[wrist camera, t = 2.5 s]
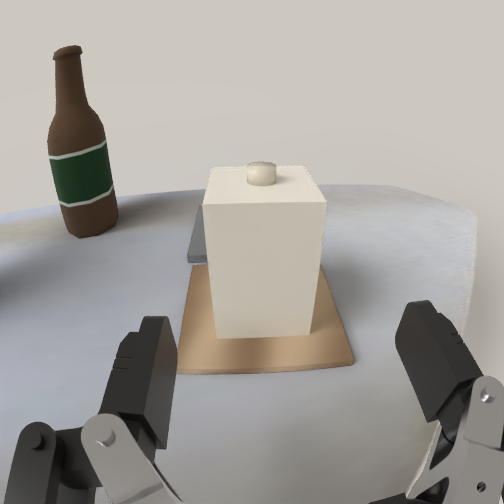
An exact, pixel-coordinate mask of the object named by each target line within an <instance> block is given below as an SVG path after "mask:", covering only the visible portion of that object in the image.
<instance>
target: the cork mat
mask: <svg viewBox="0 0 504 504" xmlns="http://www.w3.org/2000/svg"><path fill="white" fill-rule="evenodd" d="M177 354H178V364H177V371H176V373H177V374H247V373H270V372H287V371H300V370H312V369H322V368H332V367H340V366H349V365H352V364H353V361H354V358H353V355H352V352H351V349H350V346H349V343H348V340H347V337H346V334H345V331H344V328H343V325H342V323H341V320H340V317H339V314H338V311H337V308H336V305H335V303H334V300H333V297H332V294H331V292H330V289H329V286H328V283H327V281H326V278H325V275H324V273H323V270H322V267H321V265H320V268H319V275H318V282H317V289H316V296H315V302H314V309H313V315H312V321H311V327H310V333H309V335H299V336H283V337H263V338H233V339H217V337H216V329H215V321H214V313H213V305H212V296H211V288H210V279H209V270H208V265H193V267H192V272H191V277H190V282H189V288H188V293H187V299H186V304H185V310H184V316H183V321H182V327H181V333H180V339H179V345H178V352H177Z"/></svg>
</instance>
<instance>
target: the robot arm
mask: <svg viewBox="0 0 504 504" xmlns="http://www.w3.org/2000/svg"><path fill="white" fill-rule="evenodd" d="M395 344H396V349H397V351H398V353H399V356H400V358H401V360H402V362H403V365H404V367H405V369H406V371H407V374H408V376H409V378H410V381H411V383H412V386H413V388H414V390H415V393H416V395H417V398H418V400H419V403H420V405H421V408H422V410H423V413H424V415H425V418H426V420H427V423H428V422H431V421H435V420H438V419H439V421H440V425H439V427H438V429H437V432H436V435H435V438H434V441H433V444H432V447H431V451H430V453H429V456H428V459H427V462H426V465H425V467H424V470H423V472H422V474H421V476H420V477H419V479H418V480H417V481H416V483H415V484H414V486H413V487H412V489H411V491H410V493H409V495H408V497H407V498H406V495H405V493H402V494H399V495H396V496H392V497H389V498H385V499H382V500H378V501H374V502H371V503H369V504H499V499H500V496H501V495H502V499H503V503H504V387H503V385H502V384H501V383H500V382H499V381H498V380H497V379H495V378H493V377H491V376H484V375H483V374H482V372H481V370H480V369H479V367H478V365H477V363H476V361H475V360H474V358H473V356H472V355H471V353H470V351H469V350H468V348H467V346H466V345H465V343H463V340H462V338H461V336H460V335H458V332H457V330H456V328H455V327H454V325H453V324H452V322H451V321H450V320H449V319H447V318H446V317H445V316H444V315H443V314H441V313H438V312H437V311H436V309H435V308H434V306H433V305H432V303H431V302H430V301H428V300H425V301H417V302H409V303H408V304H407V305H406V308H405V310H404V313H403V316H402V319H401V321H400V324H399V327H398V329H397V332H396V336H395ZM177 364H178V354H177V347H176V343H175V340H174V336H173V333H172V329H171V325H170V322H169V319H168V317H167V316H145V317H144V318H143V320H142V323H141V326H140V330H139V332H129V333H128V335H127V336H126V337H125V338H124V339H123V341H122V342H121V343H120V345H119V348H118V351H117V354H116V359H115V361H114V364H113V367H112V368H113V370H111V373H110V377H109V380H108V383H107V387H106V390H105V394H104V397H103V401H102V404H101V408H100V410H99V412H98V414H97V415H96V416H94V417H92V418H90V419H89V420H88V421H87V422H86V423H85V425H84V426H83V427H80V428H74V429H66V430H58V431H54V430H53V429H52V428H51V427H50V426H49V425H47V424H45V423H43V422H33V423H31V424H29V425H27V426H26V427H25V428H24V429H23V430H22V431H21V433H20V435H19V438H18V442H17V446H16V450H15V453H14V457H13V462H12V466H11V470H10V475H9V479H8V484H7V489H6V495H5V500H4V504H94V502H95V492H96V487H104V489H105V491H106V493H107V495H108V496H109V498H110V500H111V502H112V504H185V502H184V501H183V500H182V499H181V497H180V496H179V495H178V493H177V492H176V491H175V489H174V488H173V487H172V485H171V484H170V483H169V481H168V480H167V479H166V477H165V476H164V474H163V473H162V471H161V470H160V469H159V467H158V466H157V464H156V463H155V461H154V459H155V451H156V449H165V450H166V447H167V438H168V430H169V422H170V414H171V406H172V399H173V392H174V385H175V378H176V371H177Z"/></svg>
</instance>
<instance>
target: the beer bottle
mask: <svg viewBox="0 0 504 504" xmlns="http://www.w3.org/2000/svg"><path fill="white" fill-rule="evenodd" d="M81 54H82V49H81V47H80V46H76V45H73V46H67V47H64V48H60V49H59V50H57V51H56V52H55V53H54V56H53V60H55V77H56V79H55V80H56V114H55V116H54V118H53V121H52V123H51V126H50V128H49V134H48V140H47V143H48V153H49V159H50V164H51V168H52V173H53V178H54V183H55V187H56V191H57V195H58V199H59V203H60V207H61V211H62V214H63V218H64V221H65V224H66V227H67V230H68V232H69V233H71V234H73V235H74V236H76V237H78V238H83V237H89V236H96V235H99V234H101V233H103V232H104V231H106V230H108V229H110V228H112V227H113V226H115V223H116V220H117V217H118V208H117V201H116V196H115V191H114V185H113V180H112V175H111V169H110V162H109V156H108V149H107V142H106V137H105V132H104V127H103V124H102V122H101V121H100V119H99V117H98V115H97V114H96V113H95V111H94V110H92V108H91V107H90V106H89V105H88V101H87V98H86V94H85V88H84V82H83V76H82V67H81V59H80V55H81Z"/></svg>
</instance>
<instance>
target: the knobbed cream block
mask: <svg viewBox="0 0 504 504" xmlns="http://www.w3.org/2000/svg"><path fill="white" fill-rule="evenodd" d="M202 208H203V219H204V230H205V240H206V250H207V260H208V270H209V279H210V288H211V296H212V305H213V313H214V321H215V329H216V337H217V339H233V338H263V337H283V336H299V335H309V333H310V327H311V321H312V315H313V309H314V302H315V296H316V289H317V282H318V275H319V268H320V260H321V252H322V244H323V236H324V227H325V218H326V209H327V201H326V199H325V198H324V196H323V195H322V193H321V191H320V190H319V188H318V187H317V185H316V184H315V182H314V181H313V179H312V178H311V176H310V174H309V173H308V171H307V170H306V168H305V167H304V166H276V165H275V164H273V163H269V162H253V163H250V164H248V165H247V166H234V167H212V168H211V172H210V176H209V180H208V184H207V188H206V191H205V195H204V199H203V203H202Z"/></svg>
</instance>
